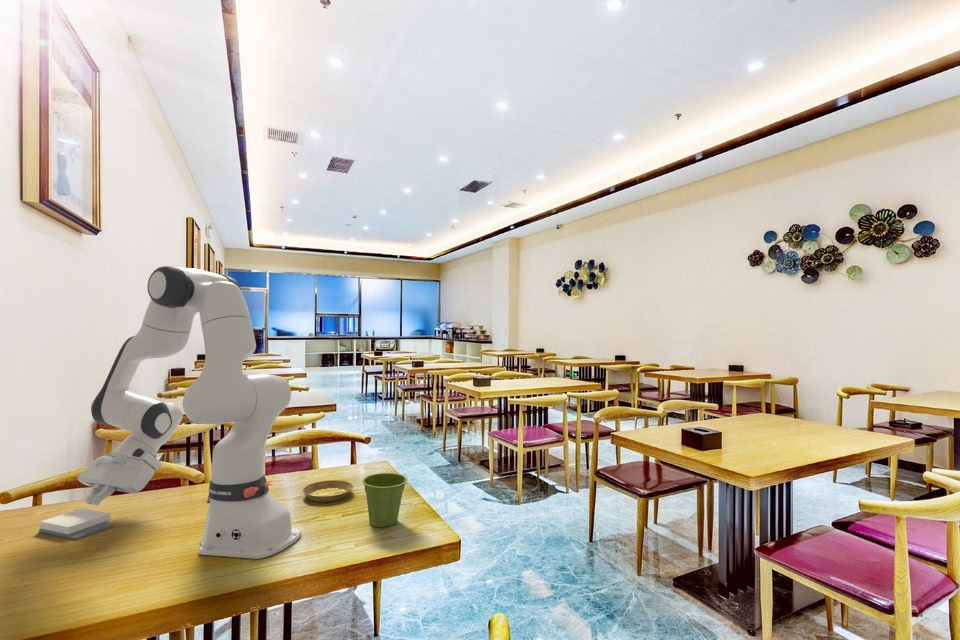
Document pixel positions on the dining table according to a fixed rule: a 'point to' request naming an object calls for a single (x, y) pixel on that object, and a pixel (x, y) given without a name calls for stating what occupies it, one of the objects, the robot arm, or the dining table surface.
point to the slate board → (82, 532)
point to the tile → (74, 521)
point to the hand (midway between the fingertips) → (90, 503)
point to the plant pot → (384, 497)
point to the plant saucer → (325, 485)
